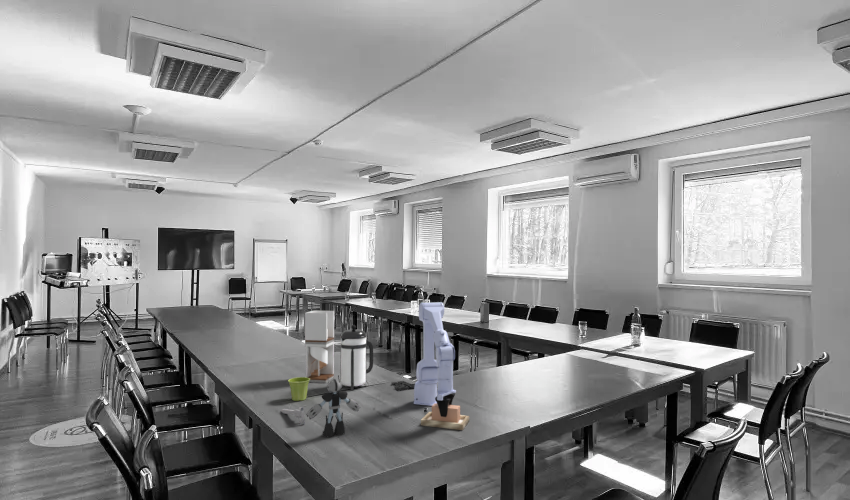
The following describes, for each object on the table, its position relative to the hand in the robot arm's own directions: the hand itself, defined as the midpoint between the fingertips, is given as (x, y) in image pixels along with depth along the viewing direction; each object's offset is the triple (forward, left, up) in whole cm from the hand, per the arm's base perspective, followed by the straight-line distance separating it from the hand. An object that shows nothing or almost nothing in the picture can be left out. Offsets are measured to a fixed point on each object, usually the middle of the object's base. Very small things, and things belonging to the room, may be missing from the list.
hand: (445, 414), depth 173 cm
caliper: (-58, -13, -4) cm, 60 cm away
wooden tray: (0, 0, -3) cm, 3 cm away
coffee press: (-57, +37, -3) cm, 68 cm away
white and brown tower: (-80, +42, -3) cm, 90 cm away
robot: (-34, -23, -3) cm, 41 cm away
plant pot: (-70, +9, -3) cm, 71 cm away
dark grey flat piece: (-27, +47, -4) cm, 54 cm away
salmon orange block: (0, 0, -2) cm, 2 cm away
